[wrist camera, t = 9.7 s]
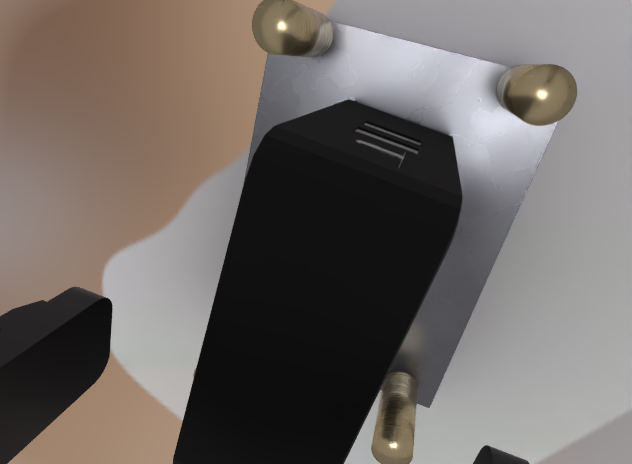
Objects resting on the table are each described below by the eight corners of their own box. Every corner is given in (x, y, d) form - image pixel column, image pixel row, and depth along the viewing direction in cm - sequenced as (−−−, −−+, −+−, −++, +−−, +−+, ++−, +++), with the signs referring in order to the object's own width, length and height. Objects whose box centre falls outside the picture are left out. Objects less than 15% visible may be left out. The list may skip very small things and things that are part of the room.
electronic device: (455, 134, 17) (470, 212, 8) (364, 339, 21) (304, 549, 12) (350, 96, 17) (252, 130, 8) (281, 304, 21) (163, 479, 12)
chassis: (285, 4, 18) (232, -17, 13) (569, 77, 16) (620, 81, 12) (225, 321, 24) (174, 381, 19) (428, 397, 22) (425, 481, 18)
